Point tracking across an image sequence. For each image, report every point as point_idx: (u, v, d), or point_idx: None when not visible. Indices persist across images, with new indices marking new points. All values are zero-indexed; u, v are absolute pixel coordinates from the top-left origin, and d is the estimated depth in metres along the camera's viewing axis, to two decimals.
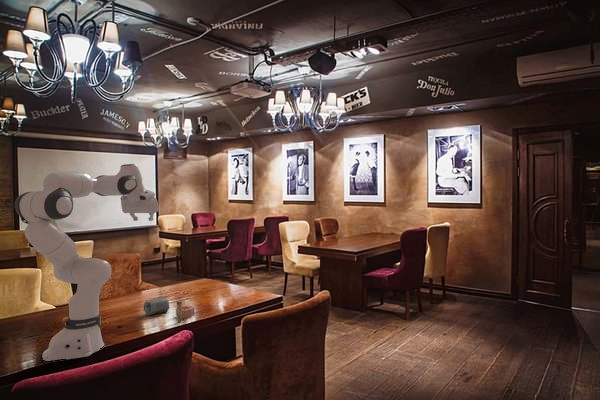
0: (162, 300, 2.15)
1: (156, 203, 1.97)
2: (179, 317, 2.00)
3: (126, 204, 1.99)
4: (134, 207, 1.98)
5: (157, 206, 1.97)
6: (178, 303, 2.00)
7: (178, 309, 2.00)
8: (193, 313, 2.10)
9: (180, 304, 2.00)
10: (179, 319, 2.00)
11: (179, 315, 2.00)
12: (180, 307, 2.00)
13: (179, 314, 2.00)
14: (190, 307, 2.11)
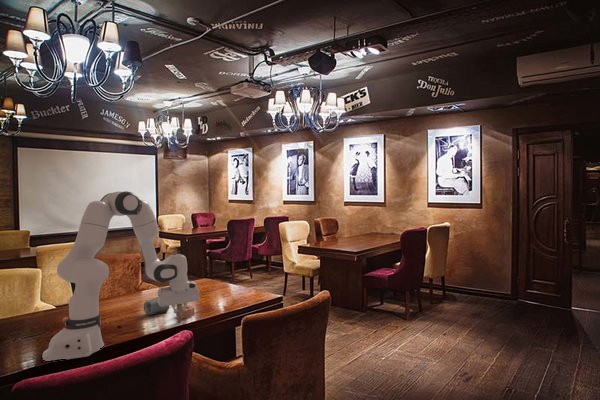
0: None
1: None
2: (179, 317, 2.00)
3: (166, 296, 1.96)
4: (176, 298, 1.98)
5: None
6: None
7: (178, 309, 2.00)
8: (193, 313, 2.10)
9: (180, 304, 2.00)
10: (179, 319, 2.00)
11: (179, 315, 2.00)
12: (180, 307, 2.00)
13: (179, 314, 2.00)
14: (190, 307, 2.11)
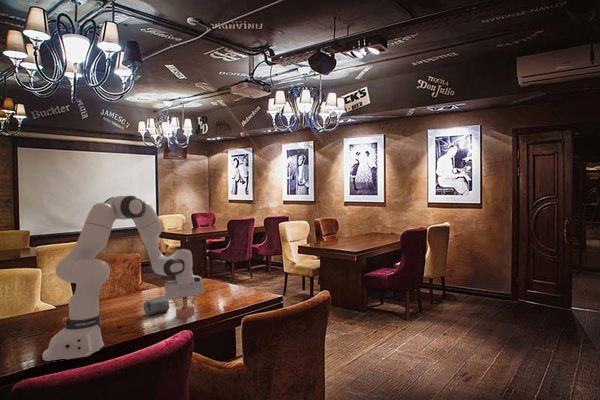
0: (162, 300, 2.15)
1: None
2: None
3: (173, 289, 2.06)
4: (181, 291, 2.08)
5: None
6: (184, 298, 2.09)
7: (184, 304, 2.09)
8: (193, 313, 2.10)
9: (186, 299, 2.10)
10: None
11: None
12: (185, 302, 2.10)
13: (185, 308, 2.10)
14: (190, 307, 2.11)
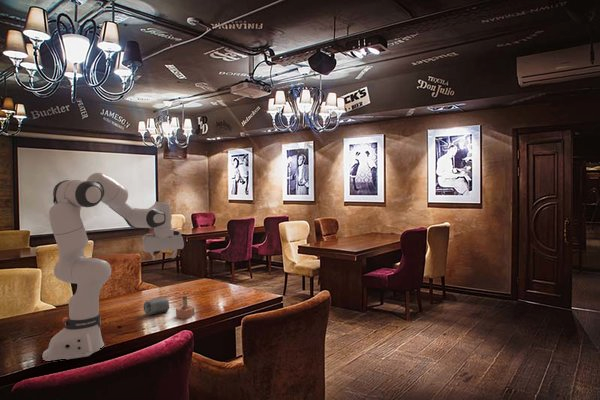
0: (162, 300, 2.15)
1: None
2: None
3: (151, 242, 2.01)
4: (160, 244, 2.03)
5: None
6: (184, 298, 2.09)
7: (184, 304, 2.09)
8: (193, 313, 2.10)
9: (185, 299, 2.10)
10: None
11: None
12: (185, 302, 2.10)
13: (185, 308, 2.10)
14: (190, 307, 2.11)
